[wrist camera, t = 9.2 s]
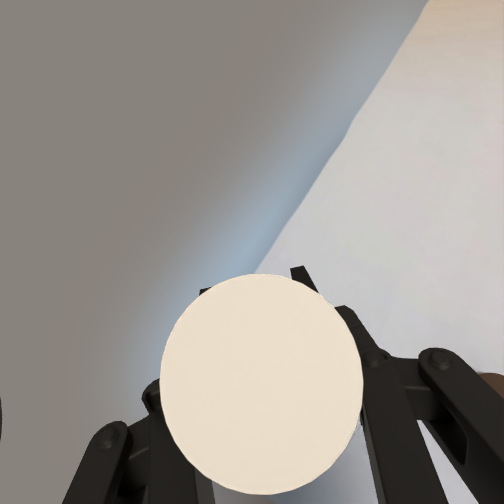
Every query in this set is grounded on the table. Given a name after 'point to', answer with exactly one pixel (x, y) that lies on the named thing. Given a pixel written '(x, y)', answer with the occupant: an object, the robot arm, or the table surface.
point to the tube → (261, 384)
